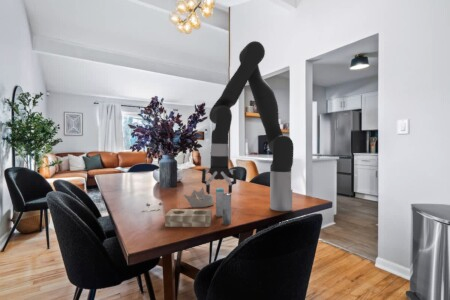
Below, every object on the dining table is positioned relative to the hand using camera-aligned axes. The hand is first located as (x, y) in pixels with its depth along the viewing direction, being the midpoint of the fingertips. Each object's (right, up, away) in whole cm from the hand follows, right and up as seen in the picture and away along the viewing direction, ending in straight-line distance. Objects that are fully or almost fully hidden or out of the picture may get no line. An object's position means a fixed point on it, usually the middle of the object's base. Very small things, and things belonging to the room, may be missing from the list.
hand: (218, 193), depth 98 cm
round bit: (+3, -9, -10) cm, 14 cm away
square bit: (0, -9, 0) cm, 9 cm away
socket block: (-11, -9, -10) cm, 17 cm away
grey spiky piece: (-9, -9, +17) cm, 21 cm away
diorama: (-32, -9, +17) cm, 37 cm away
